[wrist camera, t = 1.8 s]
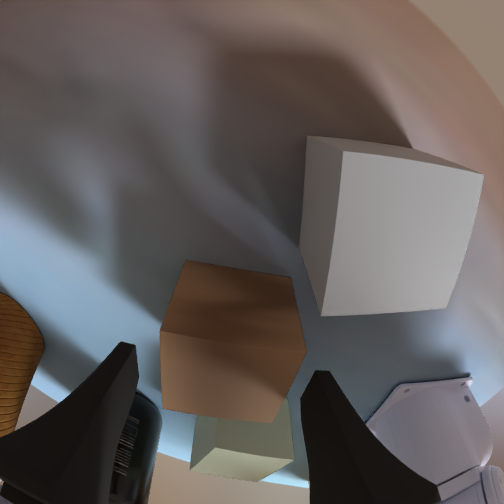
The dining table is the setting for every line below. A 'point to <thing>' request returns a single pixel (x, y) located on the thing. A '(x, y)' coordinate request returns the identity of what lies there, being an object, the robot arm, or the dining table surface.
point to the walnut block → (230, 343)
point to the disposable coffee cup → (16, 360)
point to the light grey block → (383, 226)
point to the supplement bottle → (136, 454)
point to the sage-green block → (242, 446)
